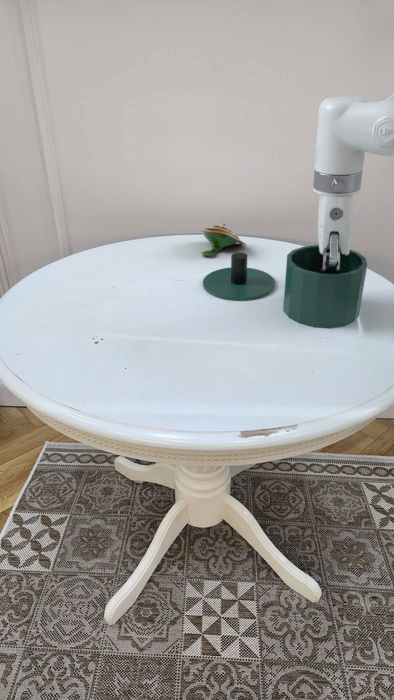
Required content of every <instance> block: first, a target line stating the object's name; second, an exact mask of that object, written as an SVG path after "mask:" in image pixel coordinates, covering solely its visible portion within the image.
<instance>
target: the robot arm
mask: <svg viewBox="0 0 394 700" xmlns="http://www.w3.org/2000/svg"><path fill="white" fill-rule="evenodd" d="M317 114H318V117H317V130H316V142H315V143H316V144H315V157H314V169H313V183H312V191H313V193H314V194H317V195H319V199H318V200H319V201H318V214H317V240H318V245H319V251H320V253H319V261H318V273H325V274H340V270H339V267H340V255H341V254H340V251H341V252H342V254H345V256H347V255H348V254H349V251H350V250H351V249H350V248H351V236H352V227H353V226H352V225H353V215H354V196H355V195H358V194H359V193H360V192H361V187H362V179H363V169H364V162H365V154H366V153H370V154H373V155H377V156H383V157H384V156H385V157H389V156H394V93H392V94H391V95H390V96H389V97H387V98H385V99H383V100H379V101H370V102H369V101H368V99H367V98H364V97H361V96H357V95H356V96H355V95H339V96H330V97H328V98H326V99H323V101H321V103H320V105H319V108H318V113H317Z"/></svg>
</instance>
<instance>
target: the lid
mask: <svg viewBox="0 0 394 700" xmlns="http://www.w3.org/2000/svg"><path fill="white" fill-rule="evenodd" d="M202 287H203V290H205V292H207V293H208V294H209V295H211V296H213V297H216V298H219V299H223V300H228V301H240V302H241V301H252V300H258V299H261V298H263V297H267V296H268V295H269V294H271V293H272V292H273V291H274V289H275V287H276V281H275V279H274V277H273V276H272V275H270V274H269V273H268V272H265V271H264V270H260V269H256V268H252V267H248V254H247V253H245V252H234V253H232V254H231V255H230V267H224V268H220V269H216V270H213V271H211V272H210V273H208V274H207V275H205V277H204V278H203V279H202Z"/></svg>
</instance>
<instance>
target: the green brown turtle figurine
mask: <svg viewBox="0 0 394 700" xmlns="http://www.w3.org/2000/svg"><path fill="white" fill-rule="evenodd" d="M225 226H226V223H222V226H221V225H215V224H214V225H212V227H204V228H203V229H193V231H196V232H197V233H201V234H202V235H203V237H204V239H206V240H207V242H208V243H209V244H211V247H212V248H211V249H208V250H204V251H202V252H201V253H200V255H202V256H204V257H208V258H212V257H214V256H215V255H216V254H218V252H219V251H221V250H222V249H224V248H225V247H226V248H227V247H230V246H233V245H236V244H238V245H243V246H247V243H245V242H243V241H242V240H241V238H240V237H239V236H238V235H236V234H235V233H234V231H233V230H231V229H228V228H226V227H225Z"/></svg>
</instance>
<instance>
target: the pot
mask: <svg viewBox="0 0 394 700" xmlns="http://www.w3.org/2000/svg"><path fill="white" fill-rule="evenodd" d="M319 253H320V251H319V244H314V245H305V246H301V247H298V248H295V249H292V250H291V251H290V252H288V254H287V255H286V264H285V265H286V267H285V280H284V294H283V308H282V311H283V312H284V314H285V315H286V316H287V318H288V319H290V320H292V321H294V322H296V323H298V324H300V325H303V326H307V327H311V328H317V329H334V328H341V327H342V328H343V327H345V326H346V327H347V326H348V325H350V324H352V323H354V322H355V321H356V320H358V318H359V316H360V312H361V305H362V299H363V293H364V287H365V281H366V275H367V269H368V262H367V258H366V257H365V256H364V255H362V254H361V253H359V252H358V251H355V250H353V249H350V251H349V254H348V255H347V256H345V254H342V252H341V251H340V254H341V255H340V267H339V270H340V274H325V273H318V261H319Z"/></svg>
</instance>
